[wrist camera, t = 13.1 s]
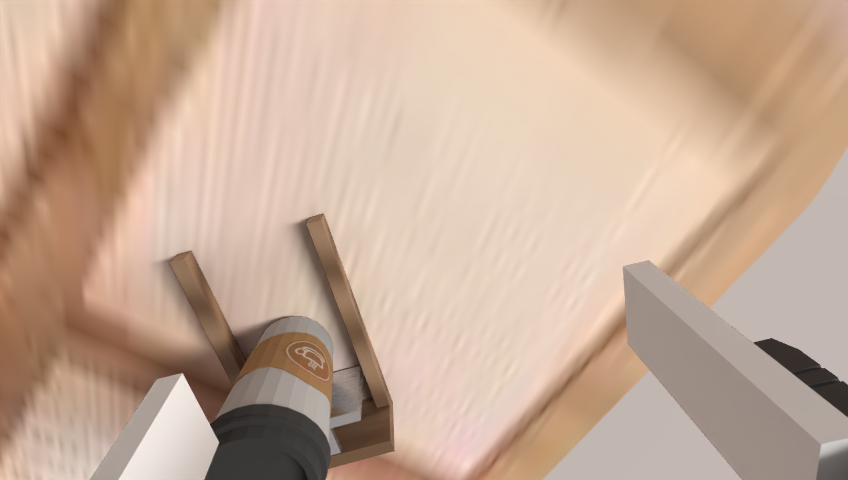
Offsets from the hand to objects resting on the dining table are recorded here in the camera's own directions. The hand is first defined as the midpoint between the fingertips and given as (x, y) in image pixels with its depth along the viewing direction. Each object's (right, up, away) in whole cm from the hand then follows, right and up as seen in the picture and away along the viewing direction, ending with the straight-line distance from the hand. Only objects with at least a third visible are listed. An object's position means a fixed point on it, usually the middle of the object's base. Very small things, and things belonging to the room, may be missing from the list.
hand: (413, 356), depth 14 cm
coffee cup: (-11, -6, +29) cm, 31 cm away
